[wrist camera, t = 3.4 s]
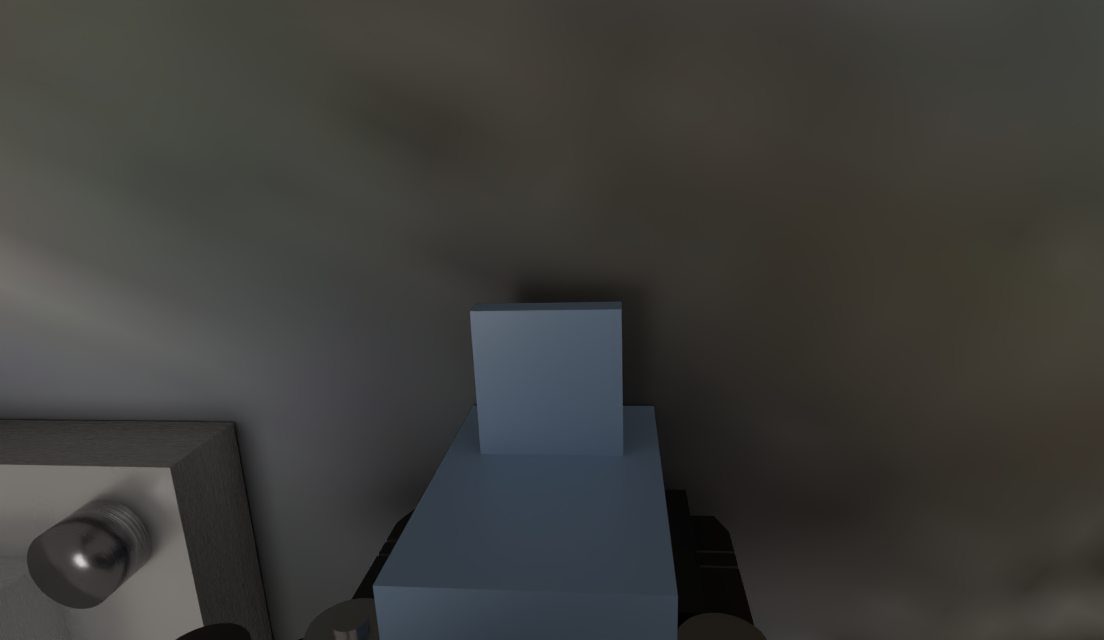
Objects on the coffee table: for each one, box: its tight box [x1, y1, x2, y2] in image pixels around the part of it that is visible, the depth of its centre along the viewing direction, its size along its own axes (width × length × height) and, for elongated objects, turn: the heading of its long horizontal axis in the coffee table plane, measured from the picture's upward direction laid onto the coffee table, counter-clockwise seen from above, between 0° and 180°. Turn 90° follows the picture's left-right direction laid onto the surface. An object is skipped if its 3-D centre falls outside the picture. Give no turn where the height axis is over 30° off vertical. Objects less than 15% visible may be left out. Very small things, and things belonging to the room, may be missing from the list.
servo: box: [373, 302, 678, 640], centre depth 11 cm, size 10×4×6 cm, turn 2°
